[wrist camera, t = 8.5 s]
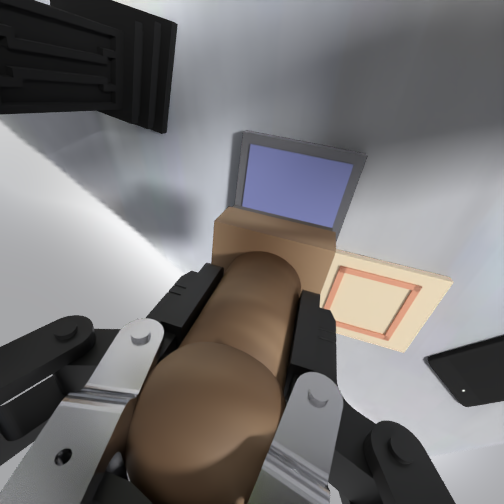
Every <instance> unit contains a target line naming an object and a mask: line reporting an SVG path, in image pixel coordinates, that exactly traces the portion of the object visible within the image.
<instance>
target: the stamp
mask: <svg viewBox="0 0 504 504" xmlns="http://www.w3.org/2000/svg"><path fill="white" fill-rule="evenodd" d="M335 253H336V232H333V228H330V227H326V226H322V225H318V224H314V223H309V222H305V221H301V220H297V219H293V218H289V217H284V216H280V215H276V214H272V213H268V212H264V211H260V210H255V209H251V208H247V207H243V206H239V205H234V206H233V207H230V206H229V207H228V208H227V209H226V210H225V211H224V212H223V213H222V214H221V215H220V216H219V217H218V218H217V219H216V220H215V221H214V234H213V248H212V262H211V264H213V265H217V266H221V267H223V268H224V276H223V277H222V279H221V281H220V282H219V284H218V285H217V287H216V289H215V290H214V292H213V293H212V295H211V297H210V298H209V300H208V301H207V303H206V305H205V306H204V308H203V309H202V311H201V313H200V314H199V316H198V317H197V319H196V321H195V322H194V324H193V325H192V327H191V329H190V330H189V332H188V333H187V335H186V336H185V338H184V340H183V341H182V343H181V344H180V346H179V348H178V349H177V350H175V351H173V352H172V353H170V354H169V355H168V356H166V357H165V358H164V359H163V360H161V361H160V362H159V363H158V364H157V365H156V366H155V367H154V368H153V370H152V371H151V373H150V374H149V376H148V378H147V380H146V382H145V384H144V386H143V389H142V391H141V394H140V396H139V399H138V402H137V405H136V408H135V411H134V414H133V418H132V421H131V425H130V429H129V434H128V439H127V445H126V454H125V463H126V468H127V473H128V477H129V480H130V482H131V483H132V484H133V485H134V486H135V487H136V488H137V489H138V490H139V491H141V492H142V493H143V494H144V495H145V496H146V497H147V498H148V499H149V500H150V501H151V502H152V503H153V504H248V501H249V499H250V496H251V494H252V491H253V489H254V486H255V484H256V481H257V479H258V476H259V474H260V471H261V469H262V466H263V463H264V461H265V458H266V456H267V453H268V451H269V449H270V446H271V444H272V441H273V439H274V436H275V433H276V431H277V428H278V426H279V423H280V421H281V418H282V416H283V413H284V411H285V408H286V400H285V397H284V388H285V379H286V372H287V366H288V361H289V355H290V349H291V343H292V338H293V332H294V326H295V320H296V314H297V309H298V303H299V298H300V294H301V291H302V289H303V290H307V291H310V292H314V293H317V294H321V291H322V288H323V286H324V283H325V280H326V278H327V275H328V272H329V269H330V267H331V264H332V261H333V259H334V256H335Z"/></svg>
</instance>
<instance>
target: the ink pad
mask: <svg viewBox="0 0 504 504" xmlns="http://www.w3.org/2000/svg"><path fill="white" fill-rule="evenodd" d="M366 159H367V155H366V153H361V152H356V151H351V150H346V149H341V148H335V147H330V146H325V145H320V144H315V143H310V142H305V141H300V140H294V139H289V138H284V137H279V136H274V135H269V134H264V133H259V132H253V131H248V130H246V131H243V137H242V146H241V154H240V163H239V171H238V180H237V188H236V197H235V205H239V206H243V207H247V208H251V209H255V210H260V211H264V212H268V213H272V214H276V215H280V216H284V217H289V218H293V219H297V220H301V221H305V222H309V223H314V224H318V225H322V226H326V227H330V228H333V232H336V241H337V238H338V236H339V233H340V230H341V228H342V225H343V222H344V219H345V217H346V214H347V211H348V208H349V206H350V203H351V200H352V197H353V195H354V192H355V189H356V186H357V184H358V181H359V178H360V175H361V173H362V170H363V167H364V164H365V162H366Z"/></svg>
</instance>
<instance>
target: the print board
mask: <svg viewBox="0 0 504 504" xmlns="http://www.w3.org/2000/svg"><path fill="white" fill-rule="evenodd" d="M452 284H453V281H452V279H451V278H450V277H447V276H443V275H439V274H435V273H431V272H427V271H423V270H419V269H414V268H410V267H406V266H402V265H398V264H394V263H390V262H386V261H382V260H378V259H374V258H370V257H366V256H362V255H358V254H354V253H350V252H346V251H342V250H338V249H336V253H335V256H334V259H333V261H332V264H331V267H330V269H329V272H328V275H327V278H326V280H325V283H324V286H323V288H322V291H321V294H320V308H324V309H327V310H331V312H332V314H333V316H334V318H335V320H336V333H337V334H341V335H344V336H348V337H351V338H355V339H358V340H361V341H365V342H368V343H372V344H375V345H379V346H382V347H385V348H389V349H392V350H396V351H399V352H403V353H404V352H405V351H406V349H407V348H408V346H409V345H410V344H411V342H412V341H413V339H414V338H415V337H416V335H417V334H418V332H419V331H420V329H421V328H422V327H423V325H424V324H425V322H426V321H427V319H428V318H429V317H430V315H431V314H432V312H433V311H434V310H435V308H436V307H437V305H438V304H439V302H440V301H441V300H442V298H443V297H444V295H445V294H446V292H447V291H448V290H449V288H450V287H451V285H452Z"/></svg>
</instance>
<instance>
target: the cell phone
mask: <svg viewBox="0 0 504 504" xmlns="http://www.w3.org/2000/svg"><path fill="white" fill-rule="evenodd" d="M428 361H429V364H430V366H431V367H432V368H433V370H434V371H435V372H436V373H437V375H438V376H439V377H440V378H441V380H442V381H443V382H444V383H445V385H446V386H447V387H448V388H449V390H450V391H451V392H452V394H453V395H454V396H455V397H456V399H457V400H458V401H459V402H460V404H462V405H463V406H465V407H471V406H477V405H483V404H489V403H495V402H500V401H504V336H501V337H497V338H494V339H490V340H486V341H483V342H479V343H476V344H472V345H469V346H465V347H461V348H458V349H454V350H451V351H447V352H444V353H440V354H437V355H433V356H430V357H428Z"/></svg>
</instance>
